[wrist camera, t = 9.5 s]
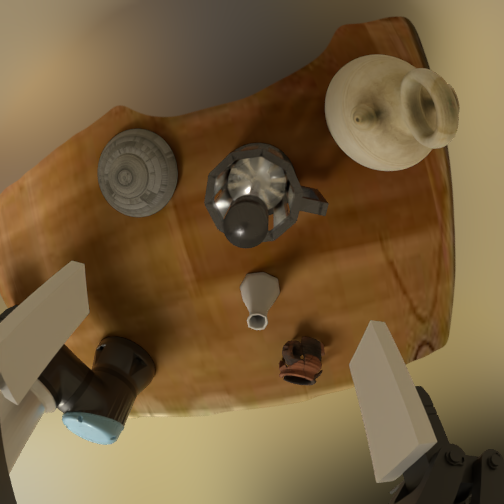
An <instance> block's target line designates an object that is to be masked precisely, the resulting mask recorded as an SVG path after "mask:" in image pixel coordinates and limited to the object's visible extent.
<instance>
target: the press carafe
mask: <svg viewBox="0 0 504 504" xmlns="http://www.w3.org/2000/svg"><path fill="white" fill-rule="evenodd" d="M254 157H263V158H264V159H266V160H268V161H270V162H272V163H274V164H275V165H277V166H279V167H281V168H282V169H283V171H284V174H285V177H286V190H285V193H284V196H283V197H282V199H281V200H280V202H279V203H278V204H277V205H275V206H274V207H273V208H271V209H269V210H268V212H269V215H271V214H274V228H273V229H272V230H271V231H268V232H267V235H266V237H265V239H264V240H263V241H262V242H266V241H273V239H274V240H275V239H277V238H278V237H279V236H280V235H281V234H283V233H284V232H285V231H286V230H287V229H288V228H290V227H291V226H292V225H293V224H294V223H296V221H297V218H298V214H299V210H300V211H305V212H309V213H314V214H318V215H323V216H325V215H326V211H327V207H328V202H327V201H326V200H325V198H324V197H323V196H322V194H321V193H320V192H319V191H318V189H314V188H309V187H305V186H300V183H299V181H298V179H297V177H296V174H295V171H294V168H293V165H292V163H291V161H290V160H289V158H288V157H287V156H286V155H285V154H284V153H283V152H282V151H281V150H279V149H278V148H276V147H274V146H272V145H269V144H265V143H250V144H247V145H244V146H241V147H239V148H238V149H236V150H235V151H234V152H231V153H230V154H229V155H228V156H227V157H226V158H225V159H224V160H223V161H222V162H221V163H220V164H219V165H218V166H216V167H215V168H214V169H213V170H212V171H211V172H210V173H209V175H208V182H207V189H206V195H205V202H204V203H205V206H206V208H207V210H208V212H209V214H210V216H211V217H212V219H213V221H214V223H215V225H216V227H217V229H219V231H221V232H223V233H224V231H223V222H224V219H223V218H224V216H225V214H226V212H227V210H228V208H229V206H230V205H232V203H233V202H234V200H233V199H232V197H231V195H230V193H229V190H228V177H229V173H230V171H231V169H232V168H233V166H234V165H235V164H236V163H237V162H238V161H239V160H240V159H246V158H254ZM220 189H222V192H221V193H220V194H219V196H218V197H217V198H216V199H215V201H214V197H215V195H216V194H217V193H218V191H219V190H220ZM287 203H289V208H290V213H289V212H288V207H287Z"/></svg>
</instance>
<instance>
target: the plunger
mask: <svg viewBox="0 0 504 504" xmlns="http://www.w3.org/2000/svg"><path fill="white" fill-rule="evenodd" d="M228 190H229V193H230V195H231V197H232V199H233V200H234V202H233V203H232V205H231V207H230V209H229V211H228V213H227V214H226V216H225V219H224V222H223V231H224V234H225V236H226V238H227V239H228V240H229V241H230V242H231V243H232V244H233V245H235V246H237V247H240V248H252V247H255V246H257V245H259V244H260V243H261V242H262V241H263V240H264V239H265V237H266V235H267V232H268V216H269V212H268V210H269V209H271V208H273V207H274V206H275V205H277V204H278V203H279V202H280V200H281V199H282V197H283V196H284V193H285V190H286V177H285V174H284V171H283V169H282V168H281V167H279V166H277V165H275V164H274V163H272V162H270V161H268V160H266V159H264V158H263V157H254V158H246V159H240V160H239V161H238V162H237V163H236V164H235V165H234V166H233V168H232V169H231V171H230V173H229V177H228Z"/></svg>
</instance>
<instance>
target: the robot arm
mask: <svg viewBox="0 0 504 504" xmlns="http://www.w3.org/2000/svg"><path fill="white" fill-rule="evenodd" d="M89 313H90V312H89V304H88V296H87V287H86V277H85V264H83V263H79V262H75V261H71V262H69V263H68V264H67V265H66V266H64V267H63V268H62V269H61V270H59V271H58V272H57V273H56V274H55V275H53V276H52V277H51V278H50V279H49V280H47V281H46V282H45V283H44V284H43V285H41V286H40V287H39V288H38V289H37V290H36V291H34V292H33V293H32V294H31V295H30V296H29V297H28V298H27V299H25V300H24V301H23V302H22V303H21V304H20V305H19V306H18V305H15V306H13V307H10V308H8V309H6V310H5V311H4V312H3V313H2V314H1V315H0V390H1V391H0V504H17V503H16V500H15V496H14V492H13V488H12V485H11V481H10V477H9V473H10V472H11V470H12V468H13V466H14V464H15V462H16V460H17V458H18V456H19V455H20V453H21V451H22V449H23V448H24V446H25V444H26V442H27V441H28V439H29V437H30V435H31V434H32V432H33V430H34V429H35V427H36V425H37V423H38V422H39V420H40V418H41V417H42V415H43V414H44V413H50V412H54V411H55V410H56V408H58V409H59V410H60V411H62V412H63V413H64V414H63V416H62V417H63V418H62V420H63V423H64V425H66V427H67V428H68V429H69V430H70V431H72V432H73V433H75V434H76V435H78V436H79V437H81V438H83V439H85V440H88V441H91V442H94V443H97V444H104V445H107V444H112V443H114V442H115V441H117V439H118V437H119V435H120V433H121V431H122V430H123V429H124V425H125V422H126V420H127V418H128V415H129V413H130V411H131V408H132V406H133V403H134V401H135V399H136V397H137V395H138V394H139V393H140V392H142V391H143V390H144V389H145V388H146V387H147V386H148V385H149V384H150V383H151V381H152V379H153V377H154V374H155V366H154V363H153V361H152V359H151V357H150V356H149V355H148V354H147V352H146V351H145V350H144V349H142V348H141V347H140V346H139V345H137V344H135V343H134V342H132V341H130V340H128V339H125V338H121V337H114V336H113V337H107V338H105V339H103V340H102V341H101V342H100V344H99V345H98V347H97V349H96V351H95V356H94V362H93V367H92V370H91V369H89V368H88V367H87V366H86V365H85V364H84V363H83V362H82V361H81V360H80V359H79V358H78V357H77V356H76V355H75V354H74V353H73V352H72V351H71V350H70V349H69V348H68V347H67V346H66V345H65V344H64V343H65V342H66V341H67V339H68V338H69V337H70V336H71V334H72V333H73V332H74V331H75V329H76V328H77V327H78V326H79V325H80V323H81V322H82V321H83V320H84V319H85V317H86V316H87V315H88V314H89ZM349 366H350V370H351V374H352V378H353V381H354V385H355V389H356V393H357V397H358V401H359V405H360V409H361V413H362V417H363V422H364V426H365V430H366V435H367V439H368V444H369V448H370V453H371V458H372V463H373V467H374V472H375V477H376V482H377V483H380V482H388V481H394V480H395V479H397V478H398V477H399V476H400V475H401V474H403V476H404V481H403V482H401V483H400V484H399V485H397V486H396V487H395V488H393V489H392V490H391V491H390V493H391V494H392V493H393V492H395V491H396V490H397V491H396V492H395V494H394V496H393V497H392V499H391V501H390V503H389V504H504V460H503V458H502V456H501V454H499V452H498V451H496V450H494V449H488V450H486V451H485V452H484V453H482V454H481V455H480V456H479V457H476V456H468V455H465V453H464V451H463V450H462V449H461V448H460V447H459V446H457V445H454V444H450V443H449V441H448V439H447V436H446V434H445V431H444V429H443V426H442V424H441V422H440V420H439V417H438V415H437V412H436V410H435V407H433V403H432V401H431V398H430V396H429V395H428V393H427V392H426V391H425V390H424V389H423V388H422V387H421V386H415V385H414V383H413V381H412V378H411V376H410V374H409V372H408V370H407V367H406V365H405V363H404V361H403V359H402V357H401V354H400V352H399V350H398V348H397V346H396V344H395V342H394V340H393V338H392V336H391V334H390V332H389V330H388V328H387V326H386V324H385V322H379V321H372V320H370V322H369V324H368V327H367V329H366V331H365V333H364V335H363V337H362V339H361V342H360V344H359V346H358V348H357V350H356V352H355V354H354V356H353V358H352V360H351V362H350V364H349ZM469 497H471V503H469Z"/></svg>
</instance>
